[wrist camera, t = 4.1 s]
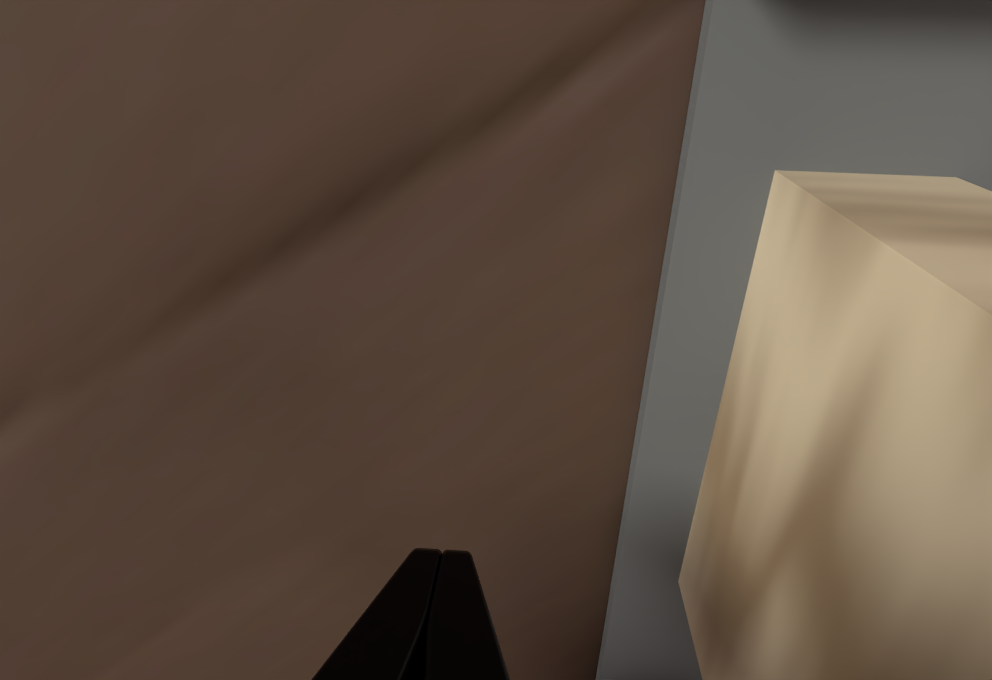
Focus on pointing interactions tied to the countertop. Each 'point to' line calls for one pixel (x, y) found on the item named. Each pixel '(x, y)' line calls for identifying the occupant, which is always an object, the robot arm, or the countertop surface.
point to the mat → (736, 229)
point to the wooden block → (853, 442)
